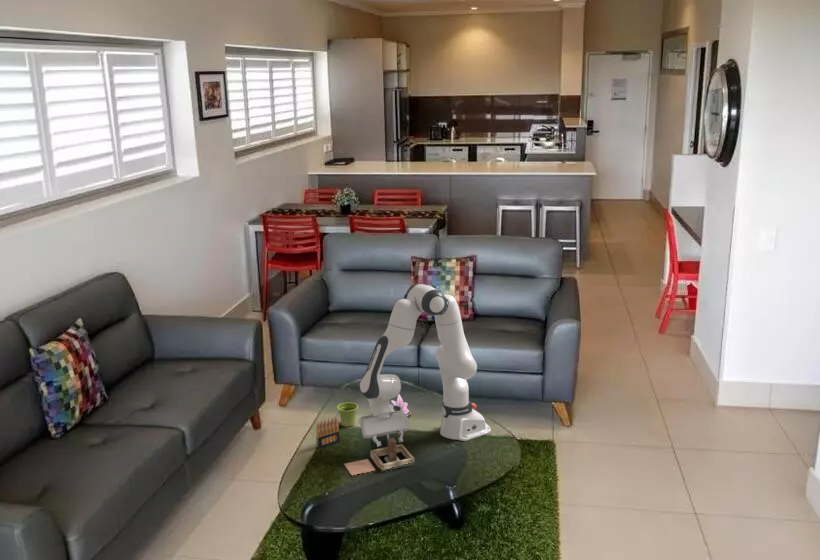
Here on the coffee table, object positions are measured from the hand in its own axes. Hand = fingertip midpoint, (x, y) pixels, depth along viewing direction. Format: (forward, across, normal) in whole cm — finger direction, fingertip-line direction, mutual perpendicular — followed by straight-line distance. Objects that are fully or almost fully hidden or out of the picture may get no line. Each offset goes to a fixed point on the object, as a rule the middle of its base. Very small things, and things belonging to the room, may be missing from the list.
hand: (390, 444), depth 304 cm
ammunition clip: (-12, -20, +22) cm, 32 cm away
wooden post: (+6, 0, +4) cm, 7 cm away
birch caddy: (+6, 0, +4) cm, 7 cm away
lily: (-21, +19, +31) cm, 42 cm away
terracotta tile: (+6, -14, +4) cm, 16 cm away
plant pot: (-23, -6, +33) cm, 41 cm away
